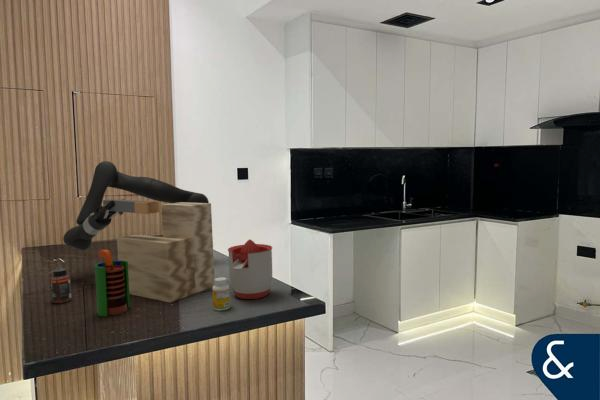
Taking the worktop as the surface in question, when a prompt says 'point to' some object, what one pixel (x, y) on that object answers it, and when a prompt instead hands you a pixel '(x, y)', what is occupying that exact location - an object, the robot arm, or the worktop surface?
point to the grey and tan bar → (134, 206)
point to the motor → (111, 285)
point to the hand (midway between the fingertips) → (118, 201)
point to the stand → (172, 254)
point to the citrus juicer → (250, 270)
